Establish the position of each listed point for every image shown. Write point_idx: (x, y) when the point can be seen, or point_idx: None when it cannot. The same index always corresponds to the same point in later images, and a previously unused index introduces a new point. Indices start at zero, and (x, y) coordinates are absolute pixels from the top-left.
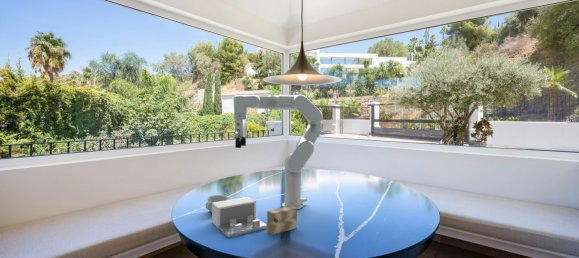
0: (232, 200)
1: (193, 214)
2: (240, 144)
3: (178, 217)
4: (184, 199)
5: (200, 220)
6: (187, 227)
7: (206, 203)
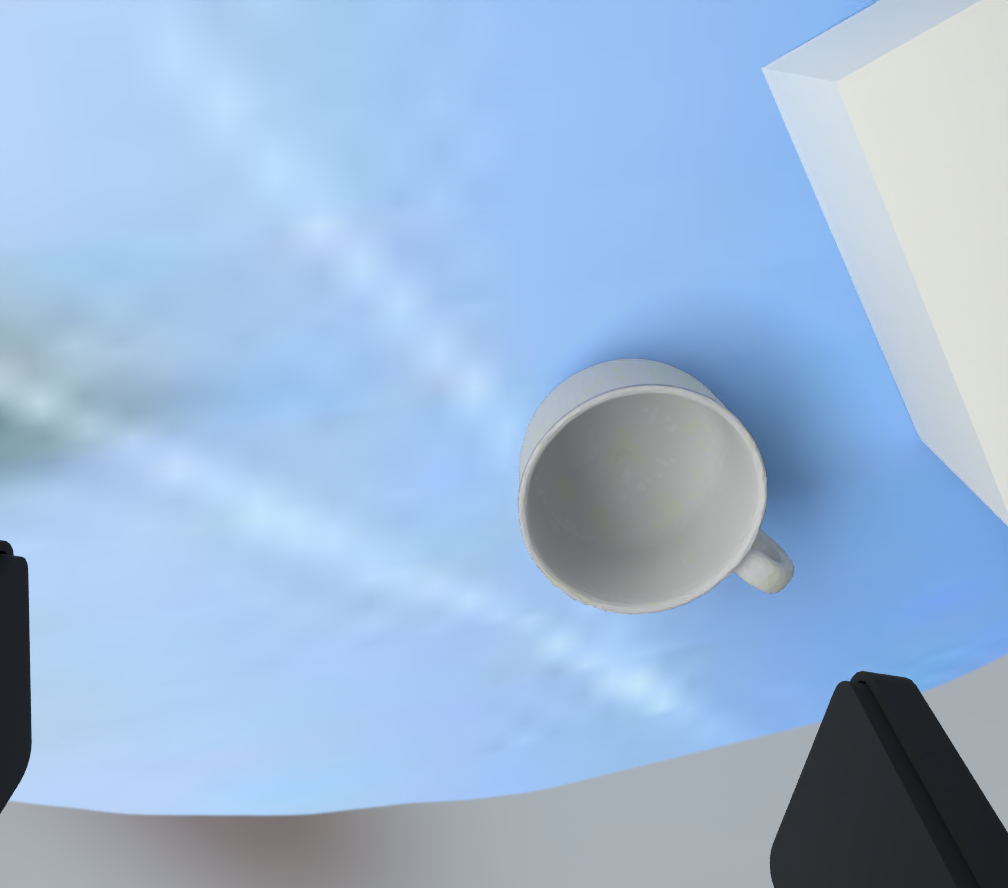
0: (986, 303)
1: (679, 638)
2: (972, 813)
3: (742, 732)
4: (227, 810)
5: (850, 547)
6: (996, 611)
7: (781, 589)
